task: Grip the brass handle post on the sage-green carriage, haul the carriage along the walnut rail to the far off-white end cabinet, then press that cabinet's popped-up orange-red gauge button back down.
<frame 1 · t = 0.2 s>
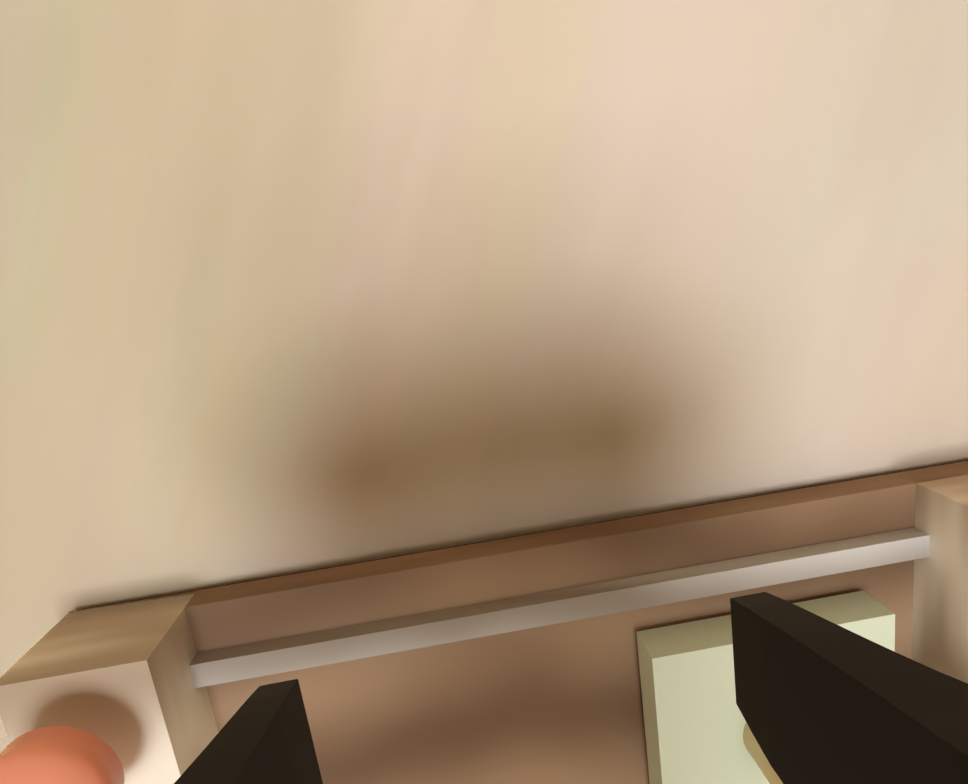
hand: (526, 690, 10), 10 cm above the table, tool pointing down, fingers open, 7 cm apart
carriage: (813, 776, 17), point 4 cm above the table, slide at 0.0 cm
rail: (578, 706, 21), on the table
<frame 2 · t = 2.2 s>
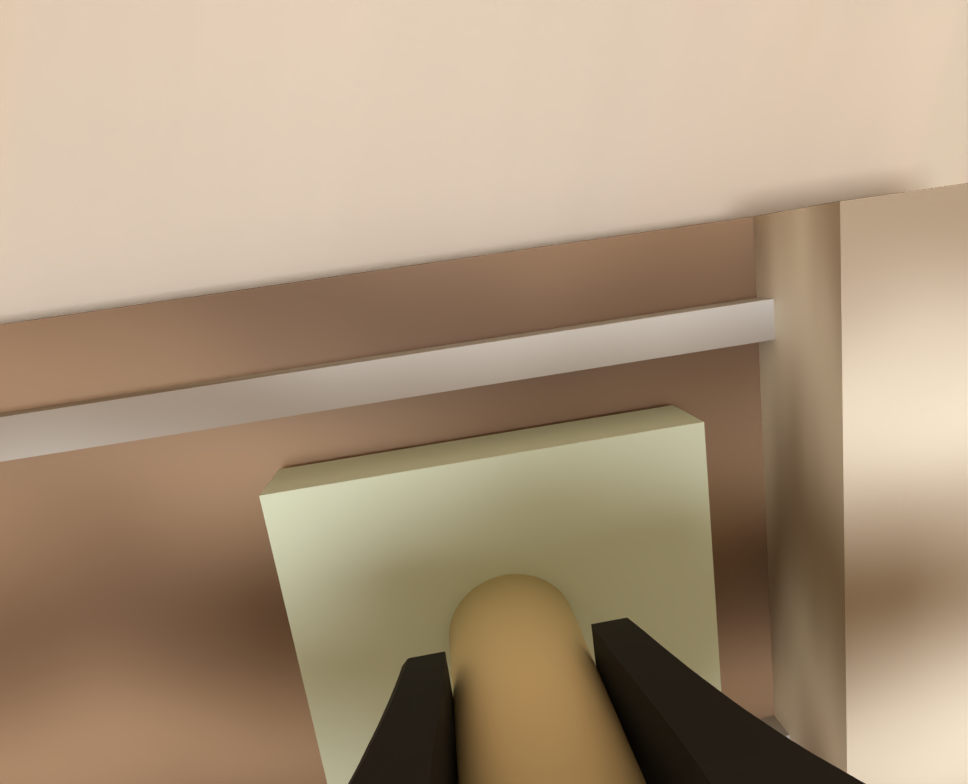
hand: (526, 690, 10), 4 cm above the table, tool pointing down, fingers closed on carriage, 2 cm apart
carriage: (528, 699, 9), point 4 cm above the table, slide at 0.0 cm, touching gripper
rail: (236, 611, 13), on the table
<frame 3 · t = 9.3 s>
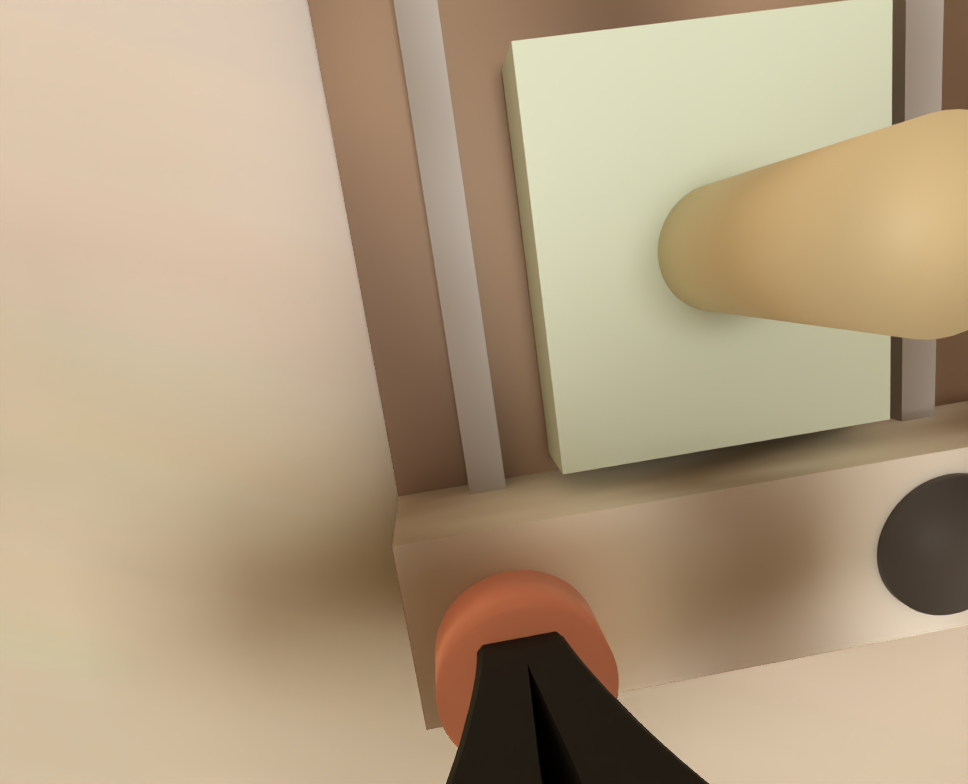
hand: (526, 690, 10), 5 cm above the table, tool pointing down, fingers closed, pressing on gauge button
carriage: (772, 243, 9), point 4 cm above the table, slide at 13.5 cm
gauge button: (522, 667, 10), point 5 cm above the table, slide at 0.6 cm, touching gripper
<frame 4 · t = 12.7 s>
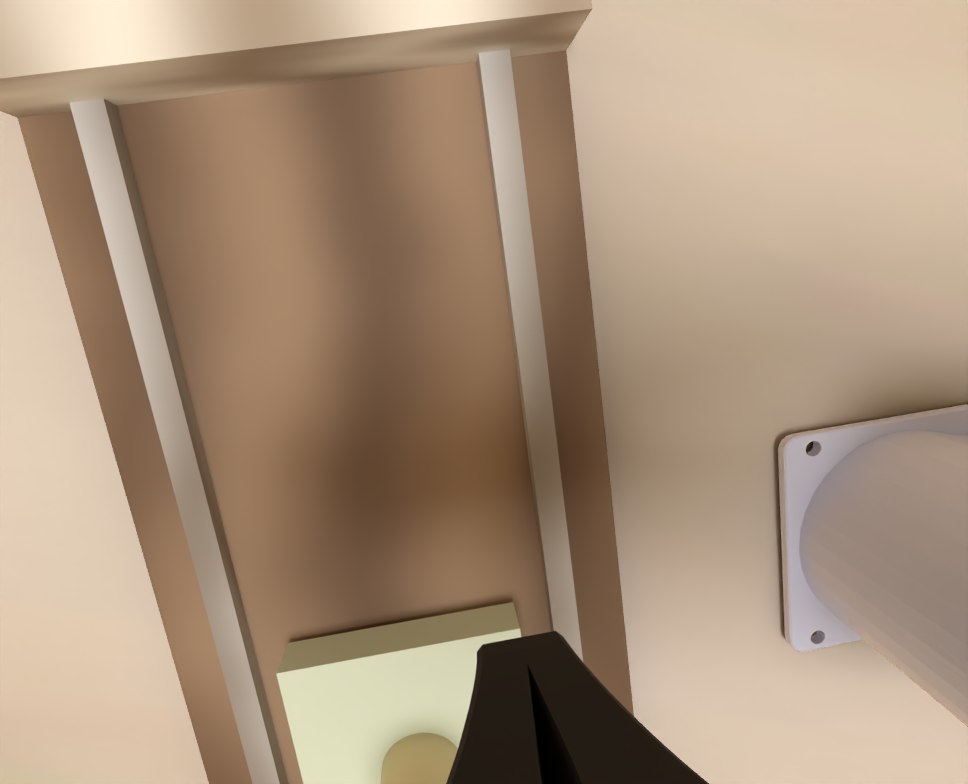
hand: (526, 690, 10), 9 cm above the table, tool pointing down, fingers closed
rail: (384, 501, 19), on the table
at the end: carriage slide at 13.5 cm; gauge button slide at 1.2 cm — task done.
